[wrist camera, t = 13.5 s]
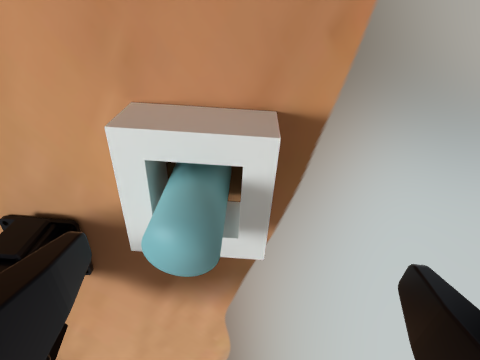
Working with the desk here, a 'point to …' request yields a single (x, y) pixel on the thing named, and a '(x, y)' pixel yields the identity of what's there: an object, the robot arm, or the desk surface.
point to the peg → (189, 220)
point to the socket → (199, 152)
